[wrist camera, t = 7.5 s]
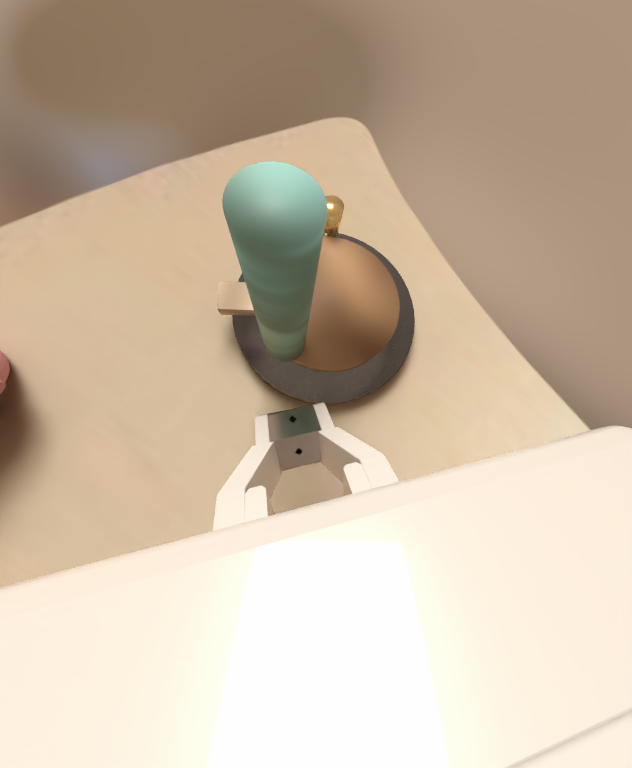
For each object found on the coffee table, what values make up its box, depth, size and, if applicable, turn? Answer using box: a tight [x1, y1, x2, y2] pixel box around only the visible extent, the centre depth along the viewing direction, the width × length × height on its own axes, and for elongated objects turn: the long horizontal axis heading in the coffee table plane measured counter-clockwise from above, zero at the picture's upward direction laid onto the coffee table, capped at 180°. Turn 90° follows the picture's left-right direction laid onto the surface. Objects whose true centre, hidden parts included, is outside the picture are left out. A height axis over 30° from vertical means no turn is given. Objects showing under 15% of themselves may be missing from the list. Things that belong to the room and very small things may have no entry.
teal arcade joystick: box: [218, 161, 400, 372], centre depth 12 cm, size 11×11×11 cm
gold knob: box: [323, 196, 344, 237], centre depth 18 cm, size 2×2×3 cm
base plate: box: [232, 233, 415, 404], centre depth 19 cm, size 14×14×2 cm
